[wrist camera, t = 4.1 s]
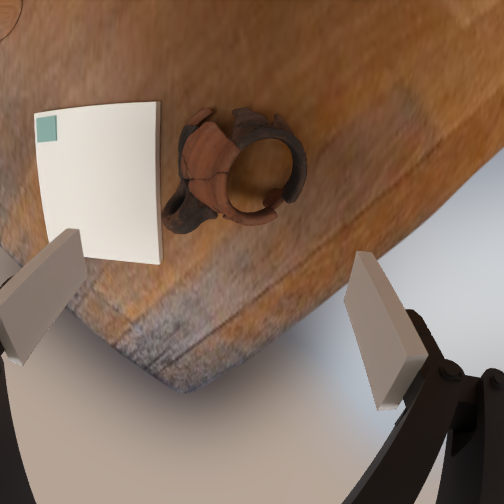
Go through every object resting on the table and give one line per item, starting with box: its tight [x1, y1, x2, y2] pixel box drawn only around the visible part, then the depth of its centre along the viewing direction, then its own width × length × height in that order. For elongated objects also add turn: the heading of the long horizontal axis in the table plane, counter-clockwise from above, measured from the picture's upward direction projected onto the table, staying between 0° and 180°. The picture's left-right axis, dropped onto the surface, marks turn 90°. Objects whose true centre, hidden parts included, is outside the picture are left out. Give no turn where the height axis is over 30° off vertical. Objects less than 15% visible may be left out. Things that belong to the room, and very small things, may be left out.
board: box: [34, 101, 163, 265], centre depth 27 cm, size 13×15×2 cm
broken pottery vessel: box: [162, 108, 307, 234], centre depth 25 cm, size 12×10×8 cm
